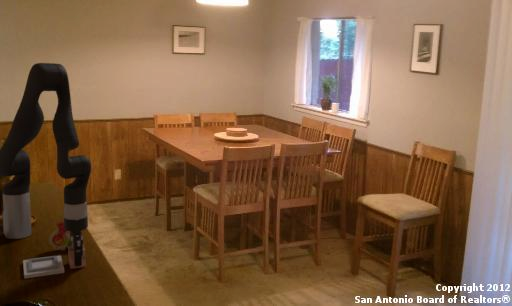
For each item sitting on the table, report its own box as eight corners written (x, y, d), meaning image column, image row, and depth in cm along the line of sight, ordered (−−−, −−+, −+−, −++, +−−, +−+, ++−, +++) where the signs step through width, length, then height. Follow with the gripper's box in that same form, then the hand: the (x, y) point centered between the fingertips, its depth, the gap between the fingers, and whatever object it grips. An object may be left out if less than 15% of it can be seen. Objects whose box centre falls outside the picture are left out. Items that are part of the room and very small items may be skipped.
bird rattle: (56, 259, 182) (80, 247, 184) (42, 233, 179) (66, 221, 181) (57, 252, 188) (80, 241, 190) (42, 227, 184) (67, 216, 186)
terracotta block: (68, 262, 175) (68, 246, 174) (83, 260, 177) (83, 244, 176) (70, 268, 170) (69, 252, 169) (85, 266, 173) (85, 250, 171)
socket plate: (23, 263, 173) (22, 258, 172) (60, 258, 178) (60, 253, 178) (24, 278, 162) (24, 272, 162) (64, 272, 167) (64, 267, 167)
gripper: (61, 209, 175) (63, 255, 178) (66, 223, 162) (67, 272, 166) (84, 207, 178) (85, 252, 181) (90, 220, 165) (91, 269, 169)
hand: (77, 262), depth 173 cm, fingers closed on terracotta block, 5 cm apart
